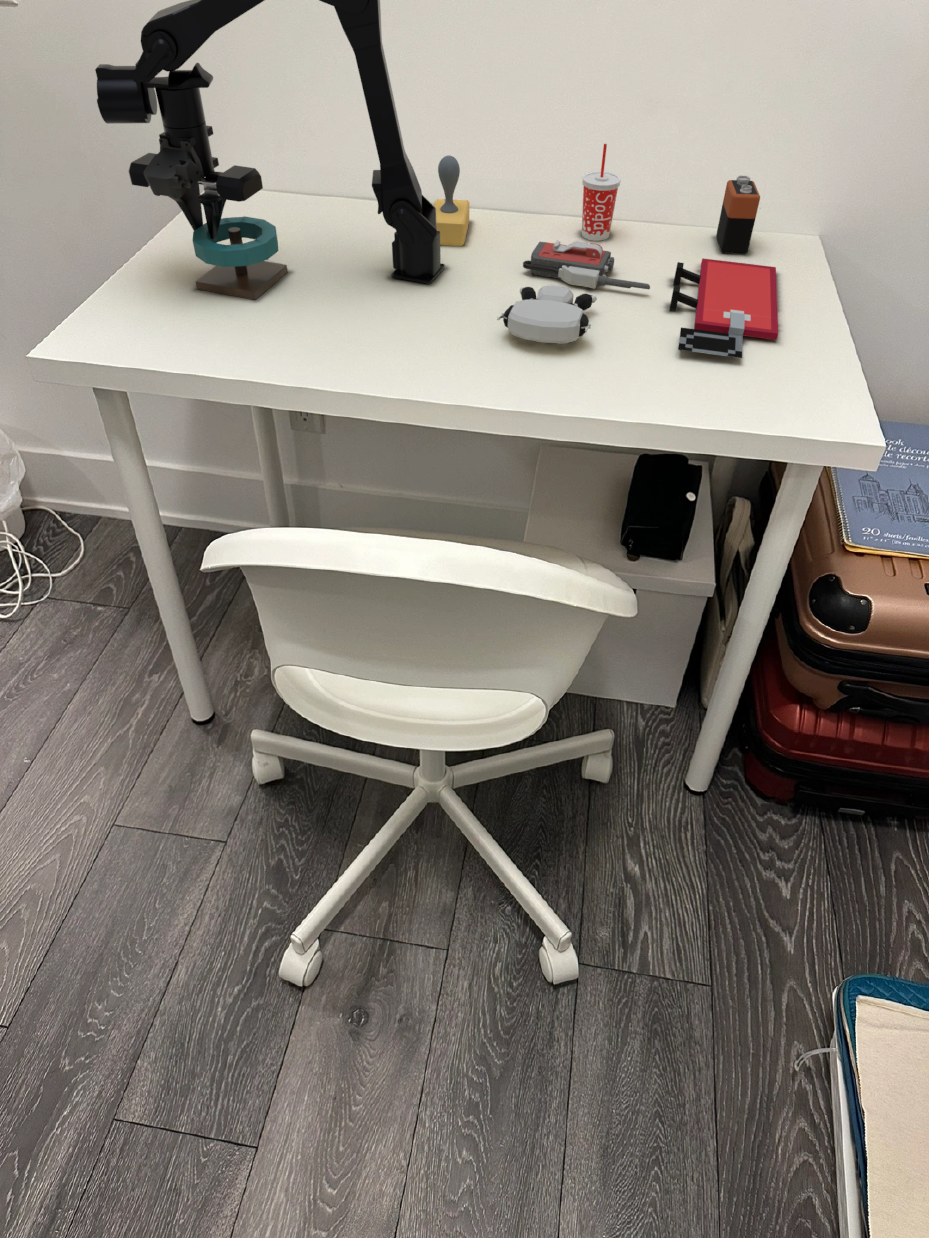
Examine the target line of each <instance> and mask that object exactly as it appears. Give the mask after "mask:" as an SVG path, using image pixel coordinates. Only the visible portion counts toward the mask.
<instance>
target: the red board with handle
mask: <svg viewBox="0 0 929 1238" xmlns="http://www.w3.org/2000/svg"><path fill="white" fill-rule="evenodd" d="M684 264H685V263H684V262H679V261H678V262H677V263H676V268H675V273H674V278H673V285H672V286H673V289H672V294H671V299H670V303H669V311H675V312H676V311H677V307H678V303H681V304H684V305H685V306H688V307H691V308H693V309H695V318H694V328H688V327H680V330H679V331H680V332H679V339H678V347H677V350H678V351H684V352H685V351H686V352H691V353H692V352H693V353H700V354H708V355H715V356H721V357H730V358H738V359H743V344H744V343H743V341H744V340H743V337H750V338H757V339H765V340H773V341H777V339H778V336H779V316H778V287H777V267H776V266H771V265H761V264H753V263H745V262H737V261H730V260H729V261H727V260H721V259H712V258H703V257H702V258H701V262H700V269H699V274H698V273H696V272H693V271H691V270H688V269H686V268H684ZM682 279H685V280H686V281H689V282H692V283H694V284H697V285H698V289H697V298H695V297H693V296H690V295H688V294H685V293H683V292H681V286H680V285H681V282H682V281H681V280H682Z"/></svg>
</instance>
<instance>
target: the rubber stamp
mask: <svg viewBox="0 0 929 1238" xmlns="http://www.w3.org/2000/svg"><path fill="white" fill-rule="evenodd" d="M437 174H438V178H439V182H440V184H441V186H442V190H443V192H444V198H436V200H435V201H434V202H433V203H434V204H433V206H434V207H435V208H436V226H437V231H440V246H452V247H453V246H454V247H463V246H464V244H465V241H466V237H467V233H468V228H469V224H470V201H469V200H468V199H454V193H455V190H456V187H457V184H458V181H459V178H460V174H461V168H460V163H459V162H458V159H457V158H456V157H455V156H453V155H449V154H448V155H445V156H443V157H442V158H441V159H440V160H439V163H438V166H437Z"/></svg>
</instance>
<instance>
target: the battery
mask: <svg viewBox="0 0 929 1238" xmlns="http://www.w3.org/2000/svg"><path fill="white" fill-rule="evenodd" d="M760 201H761V195H760V193H759V190H758V188H757V185H756V183H755V181H753V180H751V177H750V176H748V175H741V174H740V175H738V176H737V177H736V179H729V180H727V181H726V186H725V190H724V196H723V201H722V204H721V209H720V215H719V220H718V225H717V229H716V235H715V236H716V240H717V244H718V246H719V249H720V252H721V253H723V254H737V255H738V254H739V255H740V254H741V255H745V254H748V251H749V249H750V244H751V239H752V235H753V232H754V227H755V222H756V218H757V214H758V211H759V210H758V209H759V205H760Z"/></svg>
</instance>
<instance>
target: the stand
mask: <svg viewBox="0 0 929 1238" xmlns="http://www.w3.org/2000/svg"><path fill="white" fill-rule="evenodd" d="M228 234H229V239H228V240H229V243H230V244H229V245H235V244H243V243H244V242H243V238H242V236H241V230H240V228H238V227H232V228H229V229H228ZM288 273H289V272H288V265H287V264H285V263H278V262H273V261H269V260H265V261H262V262H259V263H255V264H252V265H249V266H235V267H222V266H217V265H214V267H212V268H211V269H210V270H208V271H207V272H206V273H204V274H203V275H201V276H200V277H199V278H197V279H196V280H195V286H196V290H200V291H206V292H211V293H217V294H222V295H227V296H232V297H238V298H244V299H248V300H254V301H255V300H257V299H258V298H260V297H261V296H262V295H263V294H265V292H267V291H268V290H269V289H270V288H272V286H273V285H275V284H276V283H278V281H279V280H281V279H282V278H283V277H284V276H285V275H287V274H288Z"/></svg>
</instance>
